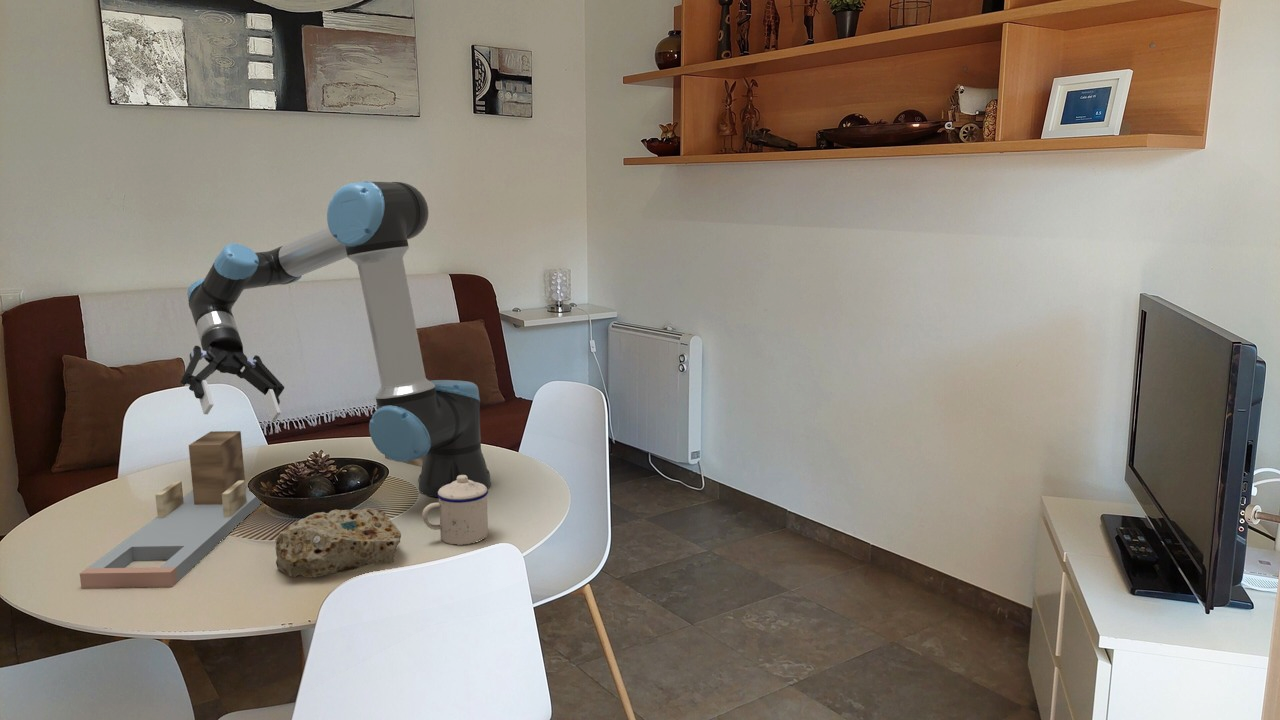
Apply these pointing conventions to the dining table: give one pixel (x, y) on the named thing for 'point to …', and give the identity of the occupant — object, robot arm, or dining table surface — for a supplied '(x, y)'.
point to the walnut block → (215, 465)
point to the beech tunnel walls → (174, 498)
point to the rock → (336, 542)
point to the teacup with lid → (461, 511)
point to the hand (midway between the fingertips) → (243, 413)
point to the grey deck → (167, 546)
